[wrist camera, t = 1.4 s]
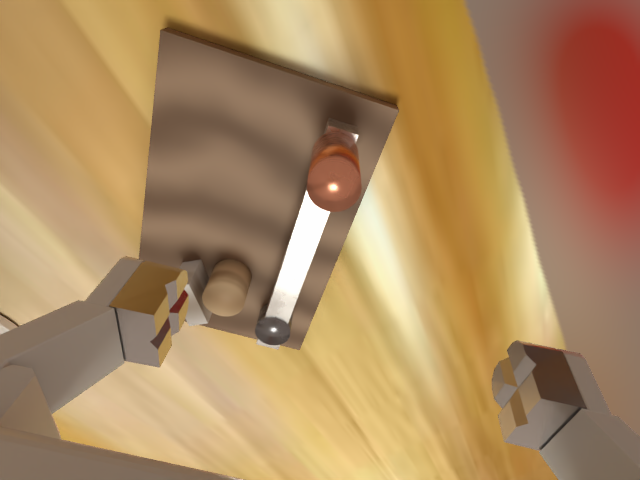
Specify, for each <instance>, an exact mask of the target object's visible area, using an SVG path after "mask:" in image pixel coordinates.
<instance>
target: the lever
mask: <svg viewBox="0 0 640 480" xmlns="http://www.w3.org/2000/svg"><path fill="white" fill-rule="evenodd" d="M358 136H359V134H358V127H356V126H353V125H350V124H347V123H344V122H341V121H338V120H335V119H332V118H329V119H328V122H327V125H326V128H325V131H324V134H323V135H322V136H321V137H319V138H318V139H317V141H316V142H315V144H314V146H313V149H312V155H311V161H310V167H309V174H308V180H307V186H306V190H305V193H304V196H303V199H302V202H301V205H300V208H299V211H298V214H297V217H296V220H295V223H294V226H293V229H292V232H291V235H290V238H289V241H288V245H287V248H286V251H285V254H284V257H283V260H282V263H281V266H280V269H279V272H278V275H277V278H276V281H275V284H274V287H273V290H272V293H271V297H270V300H269V303H268V304H265V305H264V306H263V307H262V308H261V309H260V312H259V316H258V320H257V324H256V328H255V334H256V336H257V338H258V339H257V343H256V344H258V345H262V346H266V347H270V348H274V349H279V346H280V344H283V343H285V342H286V341H287V340H288V339H289V337H290V332H291V325H292V318H293V314H292V312H293V309H294V306H295V304H296V301H297V298H298V296H299V293H300V290H301V288H302V285H303V282H304V280H305V277H306V274H307V272H308V269H309V266H310V264H311V261H312V258H313V256H314V253H315V250H316V248H317V245H318V242H319V240H320V237H321V234H322V232H323V229H324V226H325V224H326V221H327V218H328V216H329V213H330V212H340V211H343V210H346V209H348V208H350V207H351V206H353V205H354V204H355V203H356V202H357V200H358V199H359V197H360V194H361V190H362V185H361V174H360V164H359V154H358V148H357V145H356V141H357V138H358Z"/></svg>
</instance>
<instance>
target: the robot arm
mask: <svg viewBox="0 0 640 480" xmlns="http://www.w3.org/2000/svg"><path fill="white" fill-rule="evenodd" d="M187 283H188V274H187V271H186V270H183V269H179V268H175V267H171V266H167V265H163V264H158V263H154V262H150V261H144V260H140V259H136V258H132V257H127V256H125V257H123V258H121V259H120V260H119V261H118V262H117V263H116V265H115V266H114V267H113V268H112V269H111V270H110V272H109V273H108V274H107V275H106V276H105V278H104V279H103V280H102V281H101V282H100V284H99V285H98V286H97V287H96V288H95V290H94V291H93V292H92V293H91V294H90V296H89V297H88V298H87V299H86V300H85V301H79V300H78V301H76V302H73V303H71V304H69V305H67V306H64V307H62V308H60V309H57V310H55V311H53V312H51V313H48V314H46V315H44V316H42V317H39V318H37V319H35V320H32V321H30V322H28V323H26V324H23V325H21V326H19V327H17V326H16V325H15V324H14V323H12V322H11V321H9V320H8V319H6V318H5V317H3V316H1V315H0V480H245V479H240V478H235V477H231V476H226V475H222V474H217V473H212V472H208V471H203V470H199V469H194V468H189V467H185V466H180V465H176V464H171V463H166V462H162V461H157V460H153V459H148V458H143V457H139V456H134V455H130V454H125V453H121V452H116V451H111V450H107V449H102V448H98V447H93V446H89V445H84V444H80V443H75V442H70V441H66V440H61V437H60V432H59V430H58V427H57V425H56V423H55V420H54V418H53V416H52V414H53V413H54V412H55V411H57V410H58V409H60V408H61V407H63V406H64V405H65V404H67V403H68V402H70V401H71V400H73V399H74V398H75V397H77V396H78V395H80V394H81V393H82V392H84V391H85V390H87V389H88V388H90V387H91V386H92V385H94V384H95V383H97V382H98V381H100V380H101V379H102V378H104V377H105V376H107V375H108V374H109V373H111V372H112V371H114V370H115V369H117V368H118V367H119V366H121V365H122V364H124V361H128V362H133V363H139V364H144V365H149V366H155V367H160V366H161V364H162V363H163V361H164V359H165V357H166V355H167V353H168V351H169V350H170V348H171V346H172V341H171V336H172V335H173V334H175V333H177V332H179V331H180V329H181V327H182V325H183V323H184V320H185V317H186V314H187V311H188V304H189V295H188V293H187V292H186V291H185V290H184V288H185V286H186V285H187ZM507 351H508V355H509V357H508V358H506V359H504V360H501V361H499V363H498V365H497V366H496V368H495V369H494V373H493V378H492V391H493V396H494V399H495V400H496V402H497V403H498V404H499V405H500V406H501V408H502V410H501V411H500V413H499V415H498V418H499V422H500V427H501V431H502V435H503V439H504V442H506V443H511V444H515V445H519V446H523V447H527V448H531V449H535V450H539V451H540V452H539V453H540V454H541V456H542V457H543V459H544V460H545V461H546V463H547V464H548V466H549V467H550V468H551V470H552V471H553V473H554V474H555V475H556V477H557V478H558V480H640V436H639V435H637V434H636V433H635V432H634V431H633V430H632V429H631V428H630V427H629V426H628V425H627V424H626V423H625V422H624V421H623V420H621V419H620V418H619V417H618V416H614V415H611V412H610V410H609V408H608V406H607V404H606V402H605V400H604V397H603V395H602V393H601V391H600V389H599V387H598V385H597V383H596V381H595V379H594V376H593V374H592V372H591V370H590V368H589V366H588V364H587V361H586V359H585V358H584V357H583V356H582V355H581V354H580V353H576V352H571V351H566V350H562V349H556V348H551V347H547V346H542V345H537V344H532V343H527V342H522V341H515V342H513V343H512V344H511V345H510V347H509V348H508V349H507Z"/></svg>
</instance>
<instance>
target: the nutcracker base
mask: <svg viewBox="0 0 640 480" xmlns="http://www.w3.org/2000/svg"><path fill="white" fill-rule="evenodd" d="M398 112H399V109H398V107H397V105H394V104H391V103H388V102H385V101H382V100H379V99H377V98H374V97H371V96H368V95H365V94H362V93H359V92H356V91H353V90H350V89H347V88H344V87H341V86H338V85H335V84H332V83H329V82H326V81H323V80H321V79H318V78H315V77H312V76H309V75H306V74H303V73H300V72H297V71H294V70H291V69H288V68H285V67H282V66H279V65H276V64H273V63H270V62H267V61H265V60H262V59H259V58H256V57H253V56H250V55H247V54H244V53H241V52H238V51H235V50H232V49H229V48H226V47H223V46H220V45H217V44H214V43H211V42H208V41H206V40H203V39H200V38H197V37H194V36H191V35H188V34H185V33H182V32H179V31H176V30H173V29H170V28H165V29H162V30H161V31H160V42H159V52H158V63H157V73H156V84H155V95H154V105H153V116H152V126H151V137H150V147H149V158H148V169H147V179H146V190H145V200H144V211H143V222H142V232H141V243H140V253H139V259H140V260H144V261H150V262H154V263H158V264H163V265H167V266H171V267H175V268H179V269H183V270H186V271H187V274H188V283H187V285H186V286H185V288H184V290H185V291H186V292H187V293H188V295H189V304H188V311H187V314H186V317H185V320H184V321H186V322H187V323H188V325H189V326H193V325H202V326H206V327H210V328H214V329H218V330H222V331H226V332H230V333H234V334H238V335H242V336H246V337H250V338H254V339H258V338H257V336H256V334H255V328H256V324H257V320H258V316H259V312H260V309H261V308H262V307H263V306H264V305H265V304H268V303H269V300H270V297H271V293H272V290H273V287H274V284H275V281H276V278H277V275H278V272H279V269H280V266H281V263H282V260H283V257H284V254H285V251H286V248H287V245H288V241H289V238H290V235H291V232H292V229H293V226H294V223H295V220H296V217H297V214H298V211H299V208H300V205H301V202H302V199H303V196H304V193H305V190H306V186H307V180H308V174H309V167H310V161H311V155H312V149H313V146H314V144H315V142H316V141H317V139H318V138H319V137H321V136H322V135H323V134H324V131H325V128H326V125H327V122H328V119H329V118H332V119H335V120H338V121H341V122H344V123H347V124H350V125H353V126H356V127H358V134H359V136H358V138H357V141H356V145H357V148H358V154H359V164H360V174H361V185H362V190H361V194H360V197H359V199H358V200H357V202H356V203H355V204H354V205H353V206H351V207H350V208H348V209H346V210H343V211H340V212H330V213H329V216H328V218H327V221H326V224H325V226H324V229H323V232H322V234H321V237H320V240H319V242H318V245H317V248H316V250H315V253H314V256H313V258H312V261H311V264H310V266H309V269H308V272H307V274H306V277H305V280H304V282H303V285H302V288H301V290H300V293H299V296H298V298H297V301H296V304H295V306H294V309H293V312H292V314H293V318H292V325H291V332H290V337H289V339H288V340H287V341H286V342H285V343H283V344H280V345H281V346H285V347H289V348H293V349H297V350H300V348H301V345H302V343H303V340H304V338H305V336H306V333H307V331H308V328H309V326H310V324H311V321H312V319H313V316H314V314H315V311H316V309H317V307H318V304H319V302H320V299H321V297H322V295H323V292H324V290H325V287H326V285H327V283H328V280H329V278H330V275H331V273H332V271H333V268H334V266H335V263H336V261H337V258H338V256H339V254H340V251H341V249H342V246H343V244H344V242H345V239H346V237H347V234H348V232H349V230H350V227H351V225H352V222H353V220H354V218H355V215H356V213H357V210H358V208H359V206H360V203H361V201H362V198H363V196H364V193H365V191H366V189H367V186H368V184H369V181H370V179H371V177H372V174H373V172H374V169H375V167H376V165H377V162H378V160H379V157H380V155H381V153H382V150H383V148H384V145H385V143H386V141H387V138H388V136H389V133H390V131H391V128H392V126H393V124H394V121H395V119H396V116H397V114H398ZM227 259H232V260H237V261H240V262H242V263H243V264H245V265H246V266H247V267H248V268H249V270H250V271H251V274H252V279H251V283H250V287H249V290H248V293H247V297H246V300H245V304H244V307H243V309H242V310H241V312H239V313H238V314H236V315H233V316H219V315H216V314H214V313H212V312H211V311H209V310H208V309H207V308H206V307H205V305H204V304H203V301H202V295H203V292H204V290H205V288H206V285H207V283H208V281H209V278H210V276H211V274H212V271H213V269H214V267H215V265H216V264H217V263H219V262H220V261H223V260H227Z"/></svg>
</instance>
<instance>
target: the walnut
mask: <svg viewBox="0 0 640 480" xmlns="http://www.w3.org/2000/svg"><path fill="white" fill-rule="evenodd" d="M251 279H252V274H251V271H250V270H249V268H248V267H247V266H246V265H245V264H243V263H242V262H240V261H237V260H232V259H227V260H223V261H220V262H219V263H217V264H216V265H215V267H214V269H213V271H212V274H211V276H210V278H209V281H208V283H207V285H206V288H205V290H204V292H203V295H202V301H203V304H204V305H205V307H206V308H207V309H208V310H209V311H211V312H212V313H214V314H216V315H219V316H233V315H236V314H238V313H239V312H241V310H242V309H243V307H244V304H245V300H246V297H247V293H248V290H249V287H250V283H251Z"/></svg>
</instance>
